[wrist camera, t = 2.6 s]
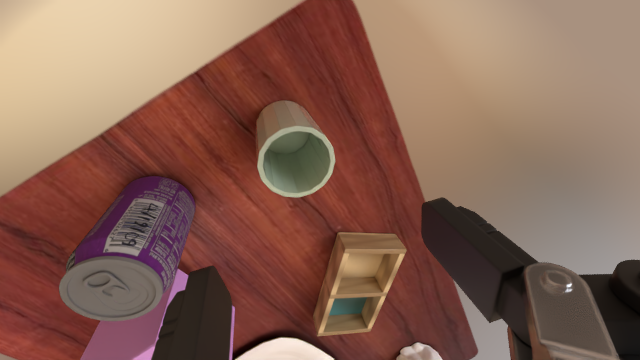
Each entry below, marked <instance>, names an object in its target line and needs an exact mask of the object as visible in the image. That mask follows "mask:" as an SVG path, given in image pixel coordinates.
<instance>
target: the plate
mask: <svg viewBox="0 0 640 360" xmlns="http://www.w3.org/2000/svg"><path fill="white" fill-rule="evenodd" d="M233 360H335V359H334V358H333V357H331V356H330V355H328V354H327V353H325V352H324V351H322V350H321V349H319V348H317V347H316V346H314V345H312V344H310V343H308V342H306V341H303V340H301V339H299V338H293V337H278V338H274V339H271V340H267V341H264V342H262V343H260V344H258V345H256V346H255V347H253V348H251V349H249V350H247V351H246V352H244V353H243V354H241V355H240V356H238V357H237V358H235V359H233Z"/></svg>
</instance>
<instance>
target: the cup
mask: <svg viewBox="0 0 640 360" xmlns="http://www.w3.org/2000/svg"><path fill="white" fill-rule="evenodd" d="M255 136H256V153H257V168H258V171H259V174H260V177H261V180H262V181H263V182H264V183H265V185H266V186H267V187H268V188H269V189H270V190H271V191H273V192H275V193H277V194H280V195H282V196H285V197H302V196H305V195H309V194H312V193H314V192H315V191H317V190H318V189H320V188H321V187H322V186H323V185H325V183H326V182H327V180H328V179H329V178H330V176H331V175H332V172H333V168H334V164H335V156H334V150H333V147H332V145H331V144H330V142H329V141H328V139H327V138H326V136H325V135H324V133H323V132H322V131H321V129H320V128H319V127H318V125H317V124H316V123H315V121H314V120H313V119H312V117H311V116H310V115H309V113H308V112H307V111H306V109H304V108H303V107H302V106H301V105H299V104H297V103H295V102H292V101H286V100H284V101H277V102H274V103H271V104H269V105H268V106H266V107H265V108H264V109H263V110H262V111H261V113H260V114H259V116H258V118H257V121H256V130H255Z"/></svg>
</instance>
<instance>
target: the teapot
mask: <svg viewBox="0 0 640 360" xmlns="http://www.w3.org/2000/svg"><path fill="white" fill-rule="evenodd" d="M187 279H188V275H187V274H185V273H184V272H182V271H181V270H179V269H177V271H176V275H175V278H174V280H173V283H172V284H171V286H170V287H169V289H168V290H167V291H166V292H165V293H164V294H163V295H162V297H161V300H160V302H159V303H158V305H157V306H156V307H155V308H154V309H153V310H151V311H150V312H148V313H147V314H145V315H143V316H140V317H137V318H134V319H130V320H124V321H102V320H101V321H100V323H99V325H98V326H97V328H96V330H95V332H94V334H93V336H92V338H91V340H90V342H89V344H88V346H87V347H86V349H85V351H84V353H83V355H82V357H81V359H80V360H151V358H152V355H153V352H154V349H155V345H156V342H157V340H158V339H159V337H158V335H159V332H160V329H161V326H163V324H162V322H163V319H164V316H165V312H166V309H167V306H168V305H169V304H170V302H171V301H172V299H173V298H174V296H175V295H176V293H177V292H179V291H182V290H185V287H186V283H187ZM234 316H235V307H234V306H232V323H231V339H230V355H229V360H232V352H233V334H234Z"/></svg>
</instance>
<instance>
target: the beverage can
mask: <svg viewBox="0 0 640 360" xmlns="http://www.w3.org/2000/svg"><path fill="white" fill-rule="evenodd" d="M194 213H195V202H194V199H193V197H192V195H191V193H190V192H189V191H188V190H187V189H186V188H185V187H184V186H183V185H181V184H180V183H178V182H176V181H174V180H172V179H169V178H165V177H159V176H149V177H143V178H139V179H136V180H134V181H132V182H131V183H129V184H128V185H127V186H126V187H125V188H124V189H123V191H122V192H121V193H120V194H119V196H118V197H117V198H116V199H115V201H114V202H113V203H112V204H111V206H110V207H109V208H108V209H107V211H106V212H105V213H104V214H103V215H102V217H101V218H100V219H99V220H98V222H97V223H96V224H95V225H94V227H93V228H92V229H91V230H90V232H89V233H88V234H87V235H86V236H85V238H84V239H83V240H82V241H81V243H80V244H79V245H78V246H77V248H76V249H75V250H74V251H73V253H72V254H71V256H70V257H69V259H68V262H67V266H66V274H65V275H64V277H63V278H62V280H61V282H60V285H59V293H60V296H61V298H62V300H63V301H64V303H65V304H66V305H67V306H68V307H69V308H70V309H72V310H73V311H75V312H77V313H78V314H81V315H83V316H85V317H88V318H92V319H96V320H102V321H124V320H130V319H134V318H137V317H140V316H143V315H145V314H147V313H148V312H150V311H151V310H153V309H154V308H155V307H156V306H157V305H158V303H159V302H160V300H161V297H162V295H163V294H164V293H165V292H166V291H167V290H168V289H169V287H170V286H171V284H172V283H173V280H174V278H175V275H176V271H177V268H178V265H179V262H180V259H181V255H182V252H183V249H184V246H185V242H186V239H187V236H188V233H189V230H190V226H191V223H192V220H193V217H194Z"/></svg>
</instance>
